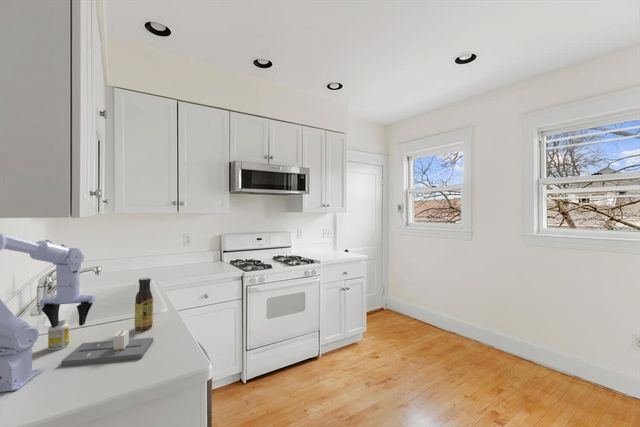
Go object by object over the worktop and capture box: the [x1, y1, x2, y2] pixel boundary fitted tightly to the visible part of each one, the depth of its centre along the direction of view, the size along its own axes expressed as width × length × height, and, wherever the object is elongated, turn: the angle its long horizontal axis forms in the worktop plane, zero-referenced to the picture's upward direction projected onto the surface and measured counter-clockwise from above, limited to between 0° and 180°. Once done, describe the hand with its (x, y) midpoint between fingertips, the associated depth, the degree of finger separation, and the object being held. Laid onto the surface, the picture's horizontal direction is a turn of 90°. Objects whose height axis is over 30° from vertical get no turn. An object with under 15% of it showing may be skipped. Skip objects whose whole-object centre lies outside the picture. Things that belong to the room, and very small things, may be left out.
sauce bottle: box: [134, 277, 154, 332], centre depth 118 cm, size 6×6×20 cm
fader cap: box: [113, 330, 130, 350], centre depth 100 cm, size 4×3×5 cm
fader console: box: [60, 336, 154, 367], centre depth 99 cm, size 12×22×2 cm, turn 103°
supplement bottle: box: [47, 316, 70, 351], centre depth 102 cm, size 5×5×10 cm
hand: (68, 325), depth 98 cm, fingers open, 7 cm apart
